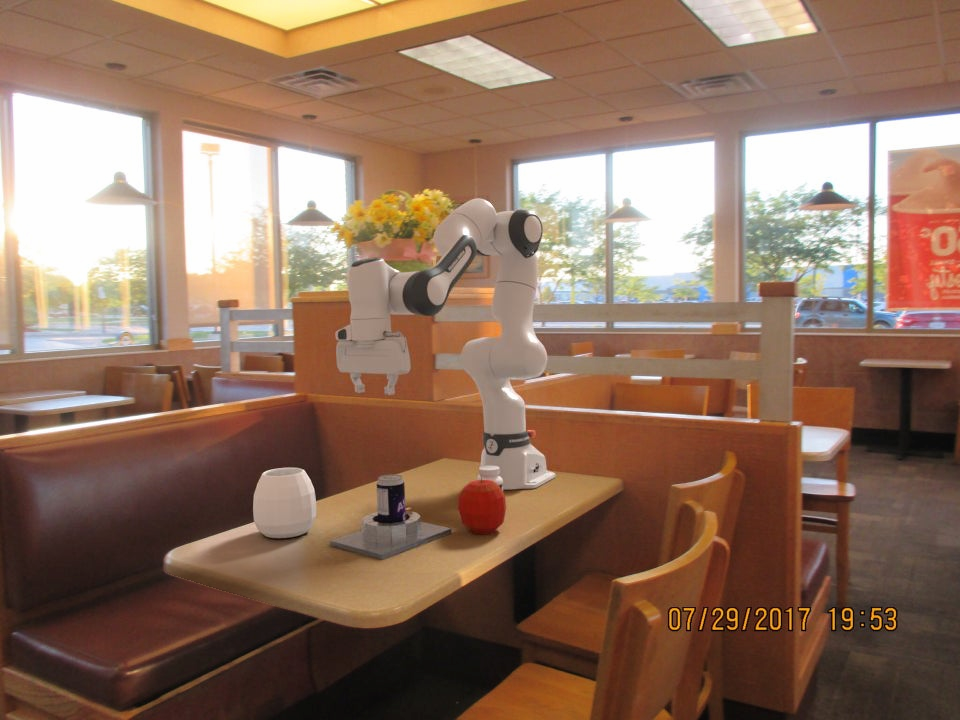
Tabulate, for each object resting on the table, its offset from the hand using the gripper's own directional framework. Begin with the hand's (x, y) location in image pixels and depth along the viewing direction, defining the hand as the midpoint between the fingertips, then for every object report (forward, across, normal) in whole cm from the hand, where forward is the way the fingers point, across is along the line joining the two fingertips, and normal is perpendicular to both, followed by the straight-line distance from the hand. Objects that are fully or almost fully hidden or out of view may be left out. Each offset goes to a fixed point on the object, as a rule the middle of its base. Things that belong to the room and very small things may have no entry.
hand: (374, 393), depth 168 cm
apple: (+29, -25, -5) cm, 39 cm away
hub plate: (+28, -13, +10) cm, 33 cm away
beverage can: (+28, -13, +10) cm, 32 cm away
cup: (+28, +9, +19) cm, 36 cm away
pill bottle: (+29, -19, -15) cm, 38 cm away
